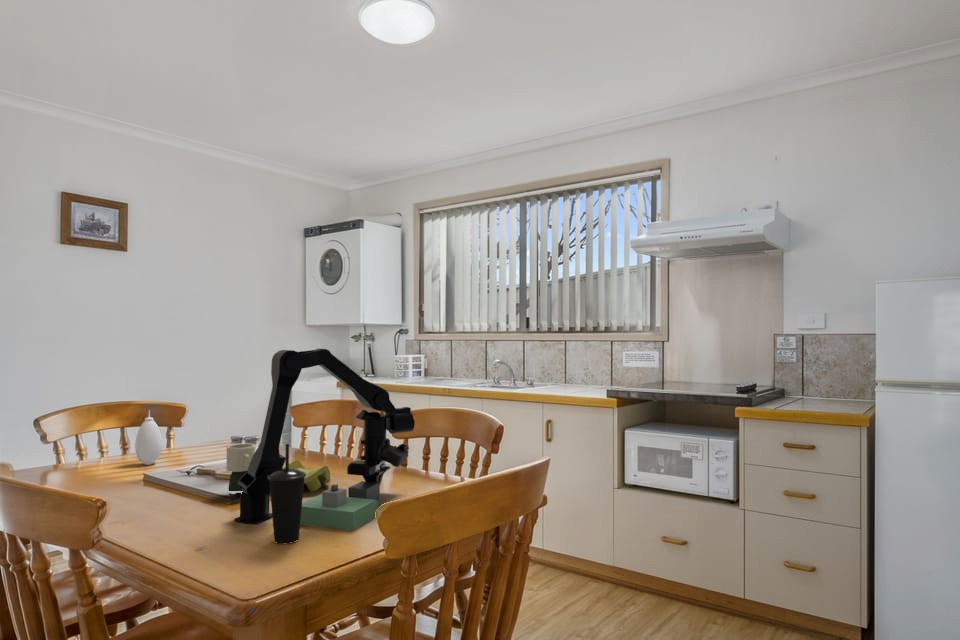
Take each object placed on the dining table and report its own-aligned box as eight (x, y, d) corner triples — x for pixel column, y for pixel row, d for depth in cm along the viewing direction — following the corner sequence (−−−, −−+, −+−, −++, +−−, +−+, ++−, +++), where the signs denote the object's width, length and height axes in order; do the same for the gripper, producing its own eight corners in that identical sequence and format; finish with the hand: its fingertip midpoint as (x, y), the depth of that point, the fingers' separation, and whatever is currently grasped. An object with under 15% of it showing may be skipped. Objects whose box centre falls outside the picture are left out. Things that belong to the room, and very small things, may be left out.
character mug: (261, 496, 162) (262, 446, 163) (234, 500, 158) (235, 450, 158) (246, 488, 170) (246, 441, 171) (219, 492, 166) (220, 444, 166)
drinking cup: (266, 548, 123) (267, 448, 123) (268, 536, 130) (268, 442, 131) (305, 544, 125) (306, 446, 126) (305, 532, 133) (306, 440, 133)
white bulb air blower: (159, 461, 206) (159, 407, 207) (164, 465, 200) (164, 409, 201) (133, 464, 202) (133, 409, 202) (137, 468, 195) (138, 411, 196)
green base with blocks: (353, 530, 134) (353, 492, 134) (294, 523, 139) (295, 487, 139) (388, 509, 150) (388, 475, 150) (335, 503, 155) (335, 471, 155)
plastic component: (270, 475, 176) (300, 456, 182) (282, 497, 178) (310, 477, 184) (299, 483, 161) (330, 462, 167) (311, 506, 163) (341, 484, 169)
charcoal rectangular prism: (366, 509, 150) (366, 489, 150) (348, 507, 151) (348, 487, 151) (379, 502, 156) (379, 482, 157) (362, 500, 158) (362, 481, 158)
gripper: (386, 443, 149) (386, 508, 148) (417, 431, 166) (417, 489, 166) (346, 440, 152) (345, 503, 152) (381, 429, 170) (380, 486, 169)
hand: (374, 495), depth 160 cm, fingers closed
